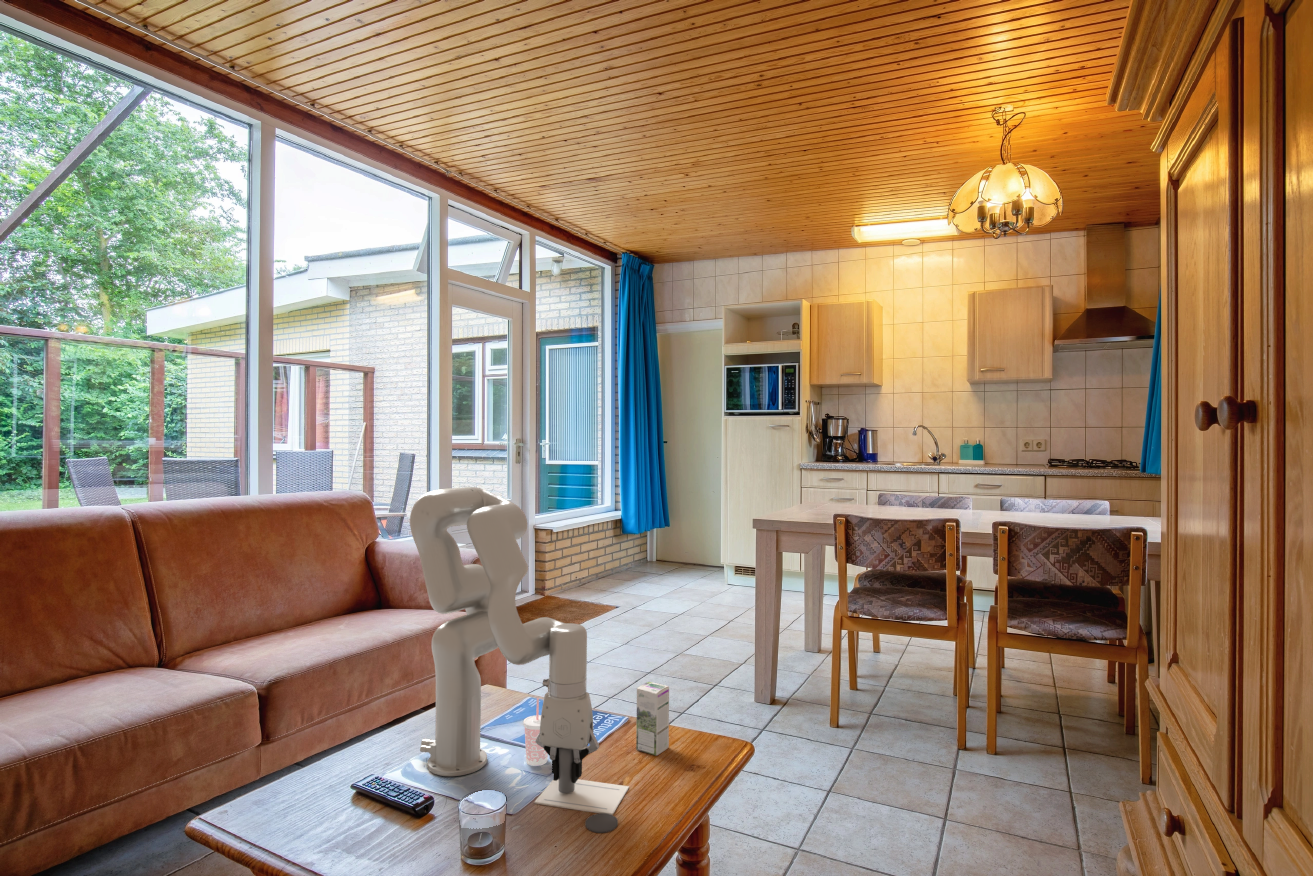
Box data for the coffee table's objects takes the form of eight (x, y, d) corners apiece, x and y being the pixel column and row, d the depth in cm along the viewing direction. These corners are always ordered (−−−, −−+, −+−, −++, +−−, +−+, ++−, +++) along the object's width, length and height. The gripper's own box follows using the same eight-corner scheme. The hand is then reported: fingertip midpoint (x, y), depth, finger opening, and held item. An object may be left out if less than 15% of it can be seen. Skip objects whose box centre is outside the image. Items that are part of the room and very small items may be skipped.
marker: (555, 792, 142) (556, 737, 142) (561, 784, 146) (562, 730, 146) (571, 794, 141) (572, 738, 141) (577, 786, 145) (578, 732, 145)
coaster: (580, 830, 130) (580, 828, 130) (591, 813, 136) (591, 811, 136) (612, 835, 129) (612, 833, 129) (621, 818, 135) (621, 816, 135)
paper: (534, 803, 139) (534, 801, 139) (556, 777, 150) (556, 776, 150) (612, 815, 136) (612, 813, 136) (629, 788, 146) (629, 786, 146)
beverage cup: (517, 765, 156) (518, 701, 156) (530, 753, 161) (531, 691, 161) (543, 769, 154) (544, 704, 154) (555, 757, 160) (556, 694, 160)
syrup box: (669, 747, 166) (670, 685, 166) (655, 757, 161) (656, 692, 161) (649, 741, 169) (649, 680, 169) (634, 750, 164) (635, 687, 164)
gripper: (522, 690, 142) (521, 782, 142) (600, 697, 138) (599, 793, 138) (537, 677, 149) (536, 766, 149) (612, 685, 145) (611, 775, 145)
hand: (566, 778), depth 143 cm, fingers closed on marker, 3 cm apart
